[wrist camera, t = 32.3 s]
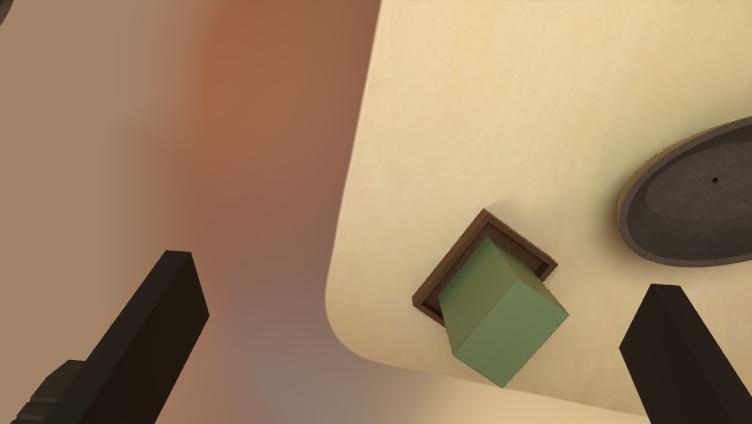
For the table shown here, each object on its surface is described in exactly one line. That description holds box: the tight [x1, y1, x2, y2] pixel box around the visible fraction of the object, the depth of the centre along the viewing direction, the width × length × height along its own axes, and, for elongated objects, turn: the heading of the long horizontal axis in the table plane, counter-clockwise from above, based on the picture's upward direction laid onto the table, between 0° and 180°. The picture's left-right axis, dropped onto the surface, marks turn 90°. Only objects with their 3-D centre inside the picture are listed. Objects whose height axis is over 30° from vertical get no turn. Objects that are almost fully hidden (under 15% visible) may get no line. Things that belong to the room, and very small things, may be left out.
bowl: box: [616, 116, 752, 267], centre depth 40 cm, size 12×22×6 cm, turn 107°
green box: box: [438, 236, 569, 388], centre depth 40 cm, size 5×8×11 cm, turn 144°
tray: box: [412, 209, 558, 328], centre depth 45 cm, size 9×12×2 cm
